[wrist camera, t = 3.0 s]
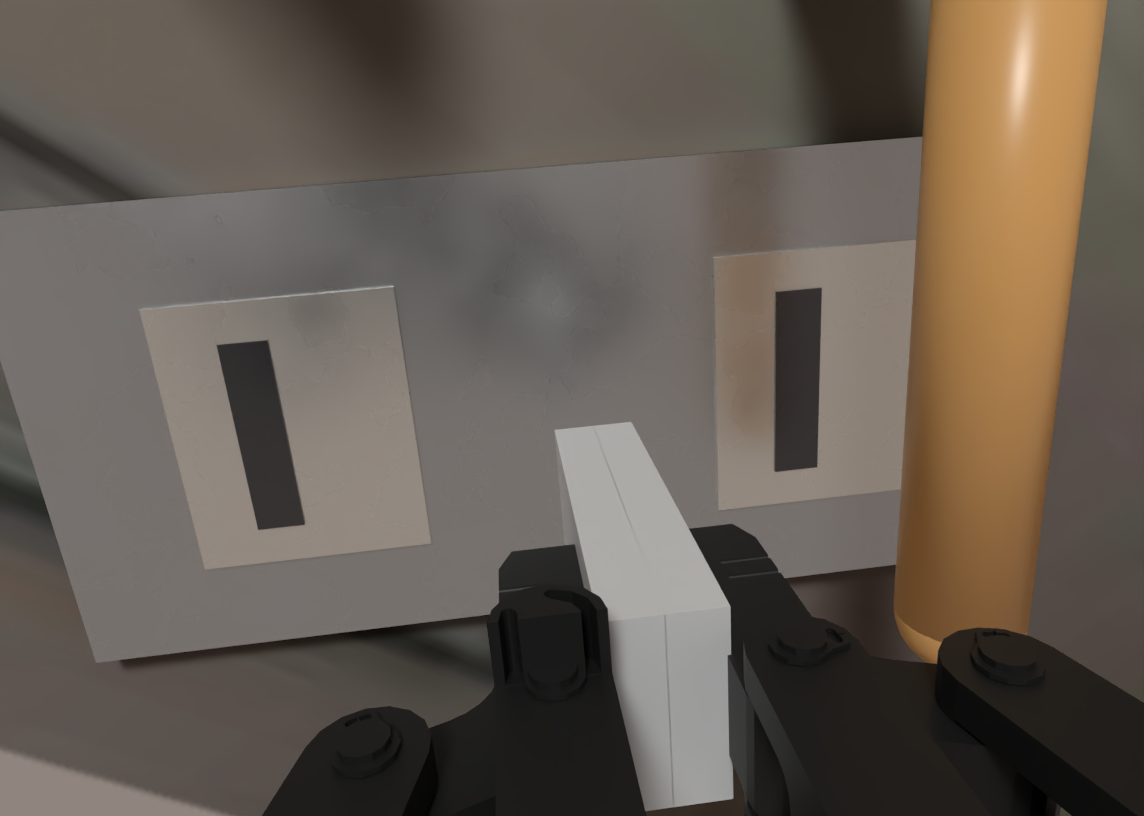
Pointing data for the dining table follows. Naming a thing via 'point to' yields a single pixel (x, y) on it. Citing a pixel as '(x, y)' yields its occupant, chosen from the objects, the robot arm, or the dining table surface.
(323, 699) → the dining table surface
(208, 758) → the dining table surface
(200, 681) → the dining table surface
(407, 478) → the panel
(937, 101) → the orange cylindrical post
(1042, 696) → the robot arm
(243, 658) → the dining table surface
